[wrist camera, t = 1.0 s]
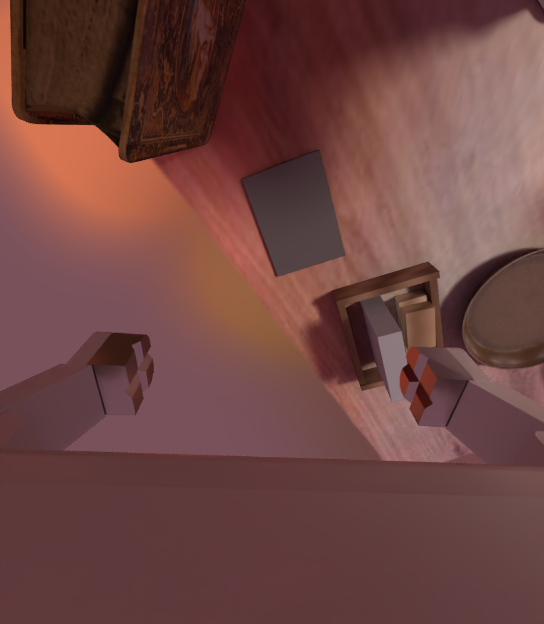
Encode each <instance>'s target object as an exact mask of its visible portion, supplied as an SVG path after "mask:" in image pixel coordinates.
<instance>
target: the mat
mask: <svg viewBox="0 0 544 624" xmlns="http://www.w3.org/2000/svg"><path fill="white" fill-rule="evenodd" d="M242 181H243V184H244V187H245V190H246V192H247V195H248V198H249V200H250V203H251V206H252V208H253V211H254V214H255V216H256V219H257V222H258V224H259V227H260V230H261V233H262V235H263V238H264V241H265V243H266V246H267V249H268V251H269V254H270V257H271V259H272V262H273V265H274V268H275V270H276V273H277V276H282V275H285V274H288V273H291V272H294V271H297V270H300V269H304V268H307V267H310V266H313V265H316V264H319V263H322V262H326V261H329V260H332V259H335V258H338V257H341V256H344V255H345V252H344V248H343V244H342V240H341V236H340V232H339V228H338V223H337V219H336V215H335V211H334V207H333V203H332V199H331V195H330V191H329V187H328V183H327V179H326V175H325V171H324V167H323V163H322V159H321V155H320V151H319V150H317V151H314V152H311V153H309V154H306V155H304V156H301V157H298V158H296V159H293V160H290V161H288V162H285V163H283V164H280V165H277V166H275V167H272V168H270V169H267V170H264V171H262V172H259V173H256V174H254V175H251V176H249V177H246V178H243V179H242Z"/></svg>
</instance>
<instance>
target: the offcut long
mask: <svg viewBox="0 0 544 624" xmlns="http://www.w3.org/2000/svg"><path fill="white" fill-rule="evenodd" d="M394 298H395V304H396V310H397V317H398V323H399V328H400V329H401V331H402V336H403V325H402V313H401V307H403V306H407V305H412V304H416V303H421V302H425V301H427V295H426V294H425V293H424V292H423V290H422V289H420V290H416V291H413V292H409V293H405V294H402V295H398V296H394ZM403 342H404V337H403ZM404 347H405V353H406V354H407V352H408V350H407V348H406V346H405V345H404Z"/></svg>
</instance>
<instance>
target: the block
mask: <svg viewBox="0 0 544 624" xmlns="http://www.w3.org/2000/svg"><path fill="white" fill-rule="evenodd" d="M360 304H361V308H362V312H363V316H364V320H365V325H366V329H367V333H368V337H369V341H370V345H371V349H372V354H373V358H374V360H375V363H376V365H377V368H378V370H379V372H380V375H381V377H382V379H383V382H384V384H385V387H386V389H387V391H388V394H389V396H390V398H391V401H392V402H396V401H400V400H404V399H405V398H404V397H403V394H402V392H401V389H400V374H401V370H402V368H403V367H404V366H406V365H407V359H406V353H405V347H404V342H403V336H402V331H401V329H400V328H399V326H398V324H397V323H396V321H395V319H394V318H393V316H392V314H391V313H390V311H389V310H388V308H387V306H386V305H385V303H384V301H383V300H382V298H381V297H380V295H379V296H376V297H372V298H369V299H365V300H362V301H360Z"/></svg>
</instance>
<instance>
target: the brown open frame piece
mask: <svg viewBox="0 0 544 624" xmlns="http://www.w3.org/2000/svg"><path fill="white" fill-rule="evenodd" d="M438 278H440V275H439V271H438V270H437V269H436V268H435V267H434V266H433V265H432V264H430V263H429V262H426V263H422V264H419V265H416V266H412V267H409V268H406V269H402V270H399V271H396V272H392V273H389V274H386V275H382V276H379V277H376V278H372V279H369V280H366V281H362V282H359V283H356V284H352V285H349V286H346V287H342V288H339V289H336V290H333V294H334V297H335V301H336V304H337V308H338V311H339V315H340V318H341V322H342V325H343V329H344V332H345V336H346V339H347V343H348V346H349V350H350V353H351V357H352V360H353V364H354V367H355V371H356V374H357V378H358V381H359V384H360V387H361V390H362V391H363V390H367V389H371V388H375V387H379V386H384V385H385V384H384V382H383V379H382V377H381V375H380V372H379V370H378V368H377V367H376V368H372V369H368V370H364V371H362V367H361V363H360V360H359V356H358V352H357V349H356V345H355V341H354V337H353V334H352V330H351V326H350V323H349V319H348V315H347V312H346V308H345V305H348V304H351V303H355V302H358V301H362V300H365V299H369V298H372V297H376V296H379V295H382V294H386V293H389V292H393V291H396V290H400V289H403V288H407V287H410V286H413V285H417V284H420V283H424V291H425V294H426V295H427V301H430V302H431V304H432V305H433V306H434V307H435V334H436V346H435V347H438V348H443V347H444V344H443V334H442V324H441V314H440V304H439V294H438V284H437V279H438ZM407 364H408V361H407Z"/></svg>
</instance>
